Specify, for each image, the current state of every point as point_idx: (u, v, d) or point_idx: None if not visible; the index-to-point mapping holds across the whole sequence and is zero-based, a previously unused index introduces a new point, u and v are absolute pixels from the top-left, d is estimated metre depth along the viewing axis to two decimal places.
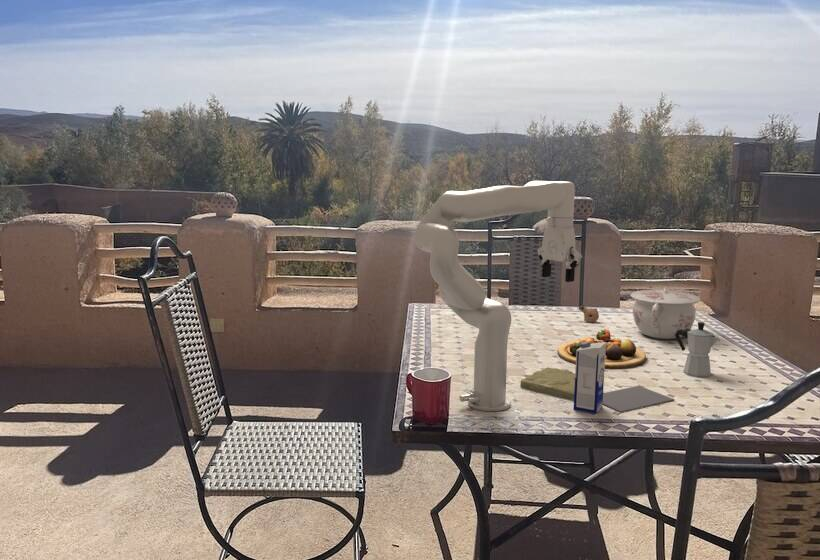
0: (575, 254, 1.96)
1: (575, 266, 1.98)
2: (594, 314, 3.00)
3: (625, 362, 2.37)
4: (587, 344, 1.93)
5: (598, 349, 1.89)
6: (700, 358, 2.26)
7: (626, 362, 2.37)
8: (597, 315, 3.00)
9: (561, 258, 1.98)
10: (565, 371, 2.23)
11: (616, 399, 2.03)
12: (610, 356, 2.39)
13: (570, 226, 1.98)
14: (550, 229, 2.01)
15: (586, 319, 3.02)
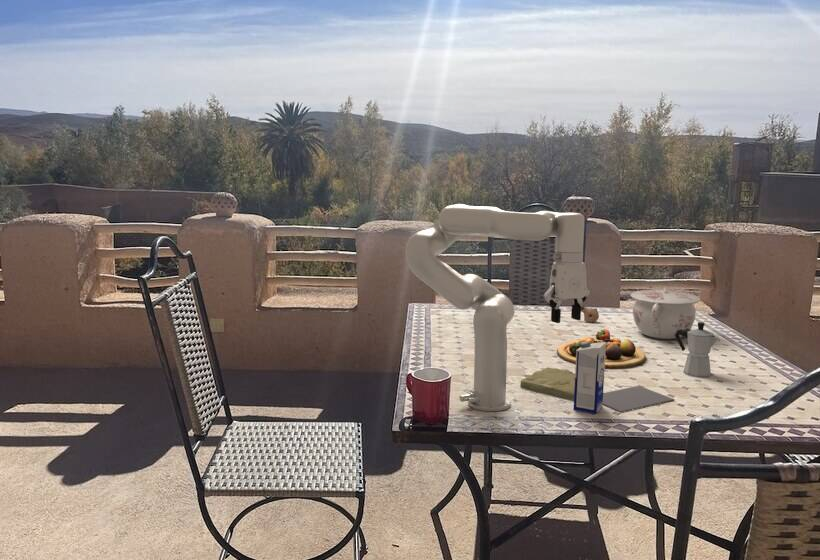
0: (586, 289, 1.89)
1: None
2: (594, 314, 3.00)
3: (625, 362, 2.37)
4: (587, 344, 1.93)
5: (598, 349, 1.89)
6: (700, 358, 2.26)
7: (626, 362, 2.37)
8: (597, 315, 3.00)
9: (584, 294, 1.86)
10: (565, 371, 2.23)
11: (616, 399, 2.03)
12: (610, 356, 2.39)
13: None
14: (571, 266, 1.82)
15: (586, 319, 3.02)
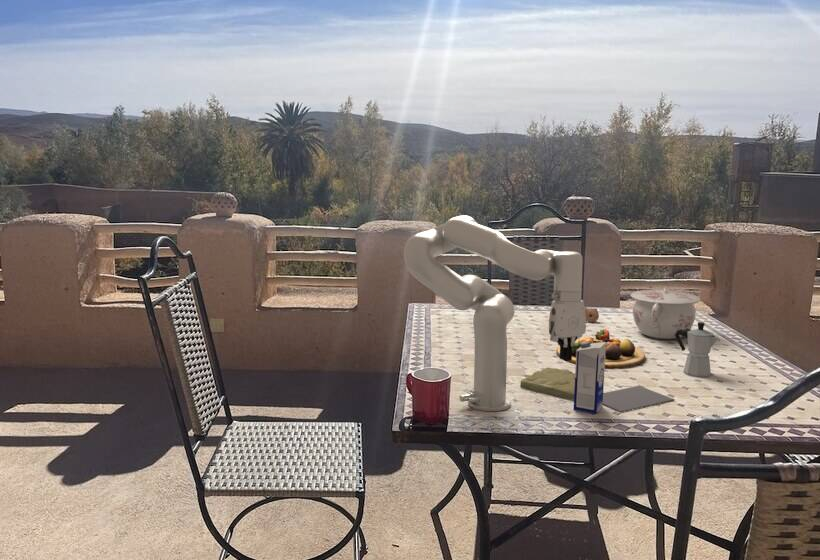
0: None
1: None
2: (594, 314, 3.00)
3: (624, 362, 2.37)
4: (587, 344, 1.93)
5: (598, 349, 1.89)
6: (700, 358, 2.26)
7: (625, 362, 2.37)
8: (597, 315, 3.00)
9: (583, 331, 1.88)
10: (565, 371, 2.23)
11: (616, 399, 2.03)
12: (609, 356, 2.40)
13: None
14: (570, 304, 1.84)
15: (586, 319, 3.02)
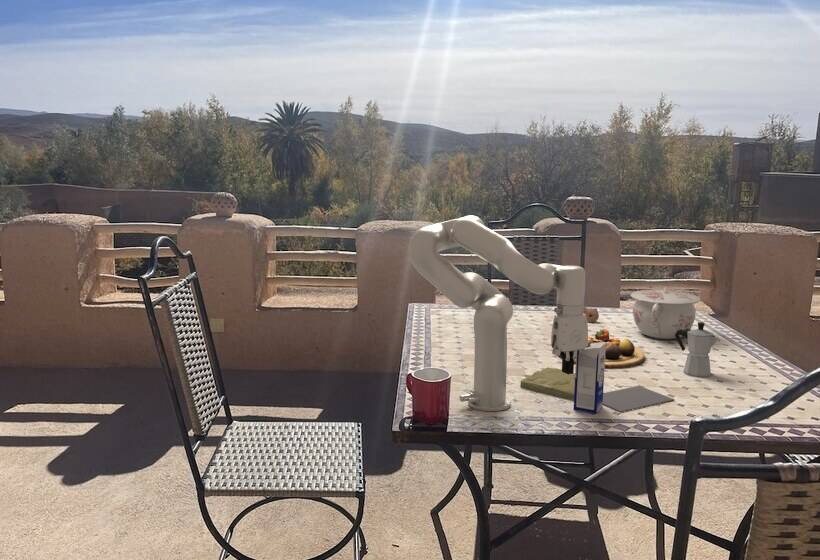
0: None
1: None
2: (594, 314, 3.00)
3: (623, 362, 2.37)
4: None
5: (598, 349, 1.89)
6: (700, 358, 2.26)
7: (624, 362, 2.37)
8: (597, 315, 3.00)
9: (585, 345, 1.89)
10: None
11: (616, 399, 2.03)
12: (609, 356, 2.40)
13: None
14: (572, 319, 1.85)
15: None
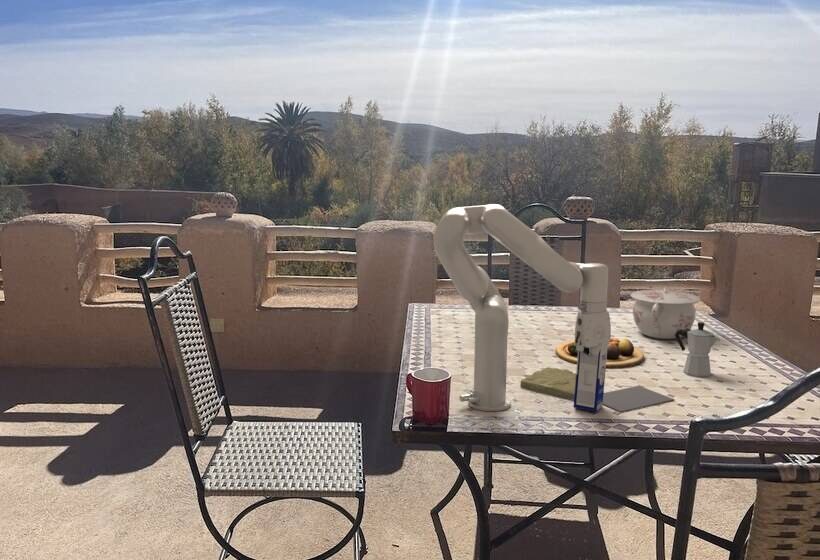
0: None
1: None
2: None
3: (623, 362, 2.37)
4: None
5: (600, 346, 1.91)
6: (700, 358, 2.26)
7: (624, 362, 2.37)
8: None
9: (608, 341, 1.93)
10: (565, 371, 2.23)
11: (616, 399, 2.03)
12: (608, 356, 2.40)
13: None
14: (595, 315, 1.89)
15: None
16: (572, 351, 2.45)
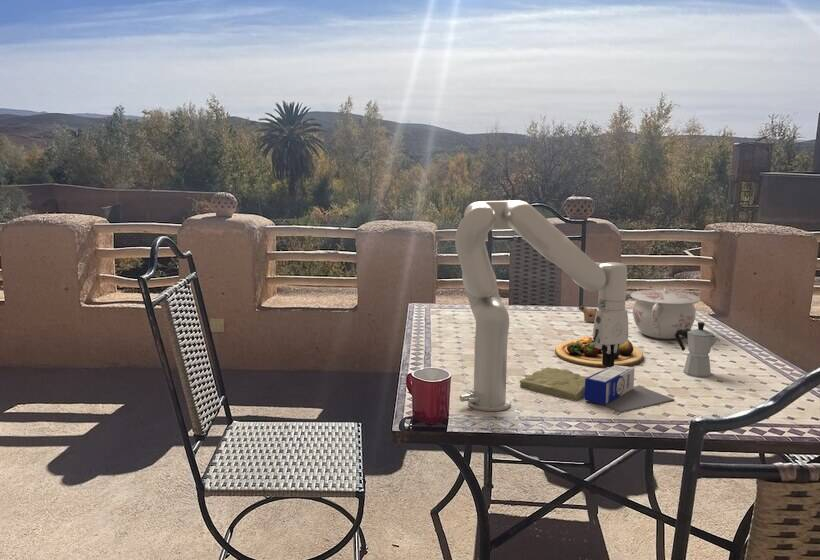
0: None
1: None
2: (594, 314, 3.00)
3: (622, 361, 2.38)
4: None
5: (632, 367, 2.11)
6: (700, 358, 2.26)
7: (623, 361, 2.38)
8: None
9: (626, 339, 1.96)
10: (565, 371, 2.23)
11: (616, 399, 2.03)
12: None
13: None
14: (614, 313, 1.93)
15: (586, 319, 3.02)
16: (571, 351, 2.45)
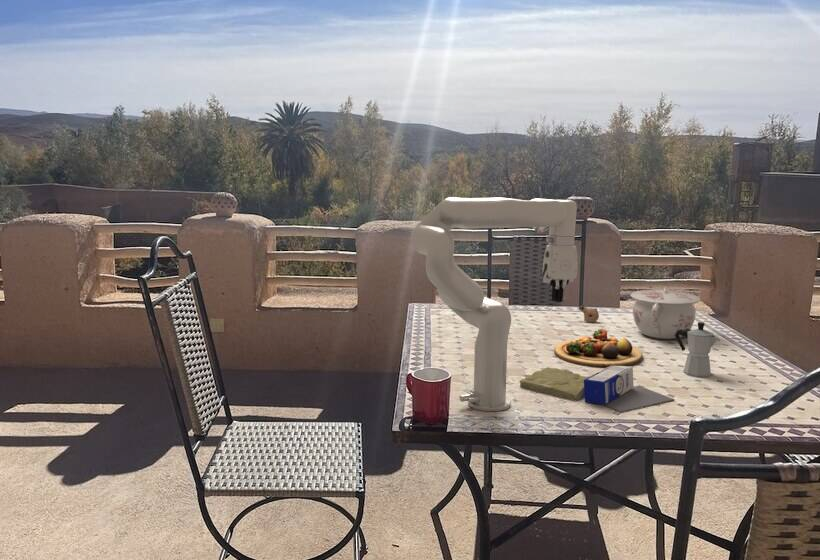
0: None
1: None
2: (594, 314, 3.00)
3: (621, 361, 2.38)
4: None
5: (630, 367, 2.12)
6: (700, 358, 2.26)
7: (622, 361, 2.38)
8: (597, 315, 3.00)
9: (574, 275, 2.02)
10: (565, 371, 2.23)
11: (616, 399, 2.03)
12: (606, 355, 2.40)
13: None
14: (562, 248, 1.98)
15: (586, 319, 3.02)
16: (570, 350, 2.46)
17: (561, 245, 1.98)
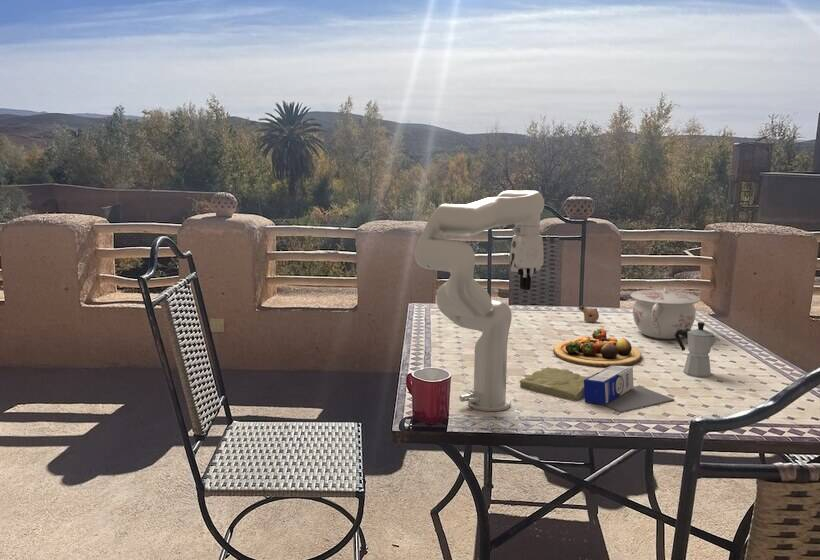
0: None
1: None
2: (594, 314, 3.00)
3: (620, 361, 2.38)
4: None
5: (630, 367, 2.12)
6: (700, 358, 2.26)
7: (621, 361, 2.38)
8: (597, 315, 3.00)
9: (541, 263, 2.08)
10: (565, 371, 2.23)
11: (616, 399, 2.03)
12: (605, 355, 2.41)
13: None
14: (528, 238, 2.04)
15: (586, 319, 3.02)
16: (570, 350, 2.46)
17: (527, 235, 2.03)
